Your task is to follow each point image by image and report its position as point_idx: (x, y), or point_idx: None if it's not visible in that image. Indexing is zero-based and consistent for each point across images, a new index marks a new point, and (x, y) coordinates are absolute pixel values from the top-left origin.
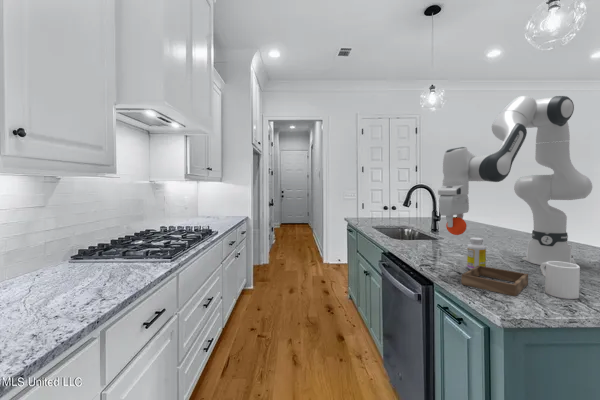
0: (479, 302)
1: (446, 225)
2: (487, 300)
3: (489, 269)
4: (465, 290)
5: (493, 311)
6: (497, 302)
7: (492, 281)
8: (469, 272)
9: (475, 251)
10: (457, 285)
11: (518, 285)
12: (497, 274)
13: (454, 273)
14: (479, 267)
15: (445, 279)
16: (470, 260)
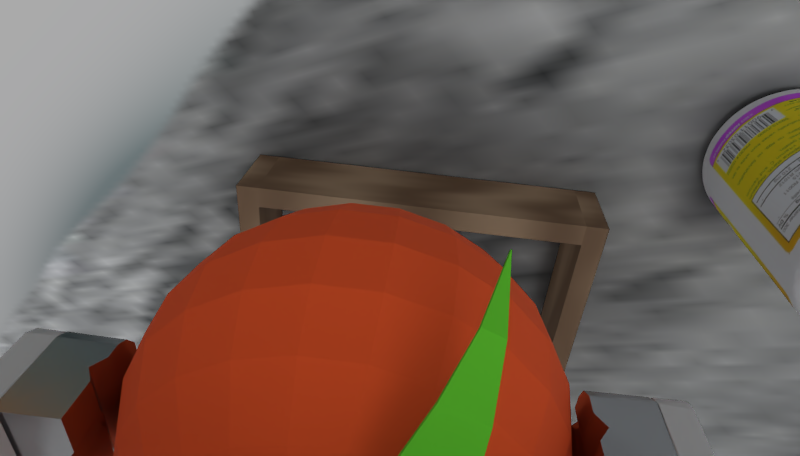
0: (59, 275)
1: (218, 262)
2: (116, 297)
3: (564, 293)
4: (167, 196)
5: (16, 326)
6: (130, 328)
7: None
8: None
9: (777, 253)
10: (219, 139)
11: None
12: (549, 316)
13: (513, 42)
14: (565, 240)
15: (287, 33)
16: (753, 157)
